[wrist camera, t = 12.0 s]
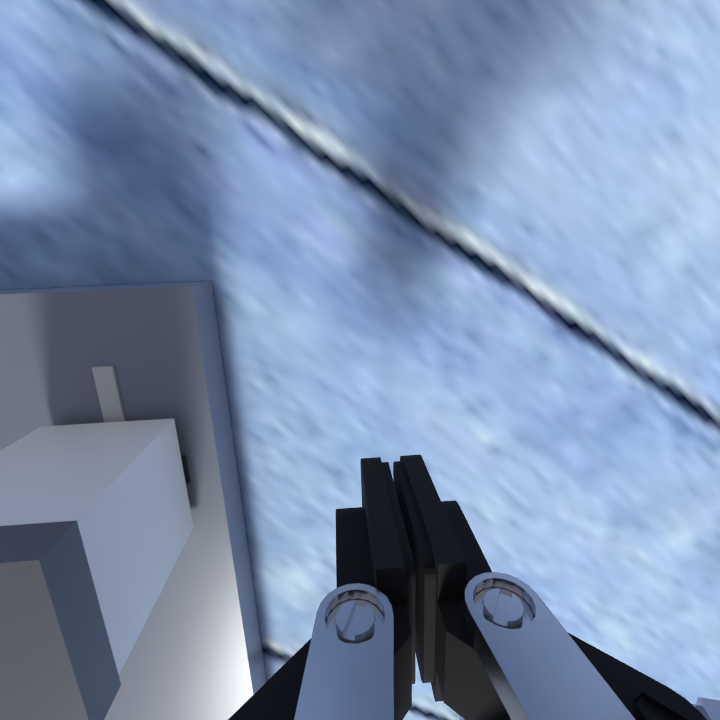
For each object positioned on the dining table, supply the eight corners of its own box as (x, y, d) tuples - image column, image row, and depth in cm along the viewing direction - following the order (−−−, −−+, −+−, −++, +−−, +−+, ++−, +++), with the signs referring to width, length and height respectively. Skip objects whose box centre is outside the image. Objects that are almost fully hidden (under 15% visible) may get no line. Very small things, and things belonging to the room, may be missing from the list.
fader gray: (176, 415, 12) (39, 559, 7) (197, 529, 13) (94, 739, 8) (36, 423, 12) (-235, 581, 6) (69, 539, 13) (-136, 763, 7)
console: (211, 281, 14) (190, 286, 12) (281, 788, 21) (275, 846, 19) (-360, 306, 13) (-491, 316, 11) (-84, 828, 20) (-132, 895, 18)
